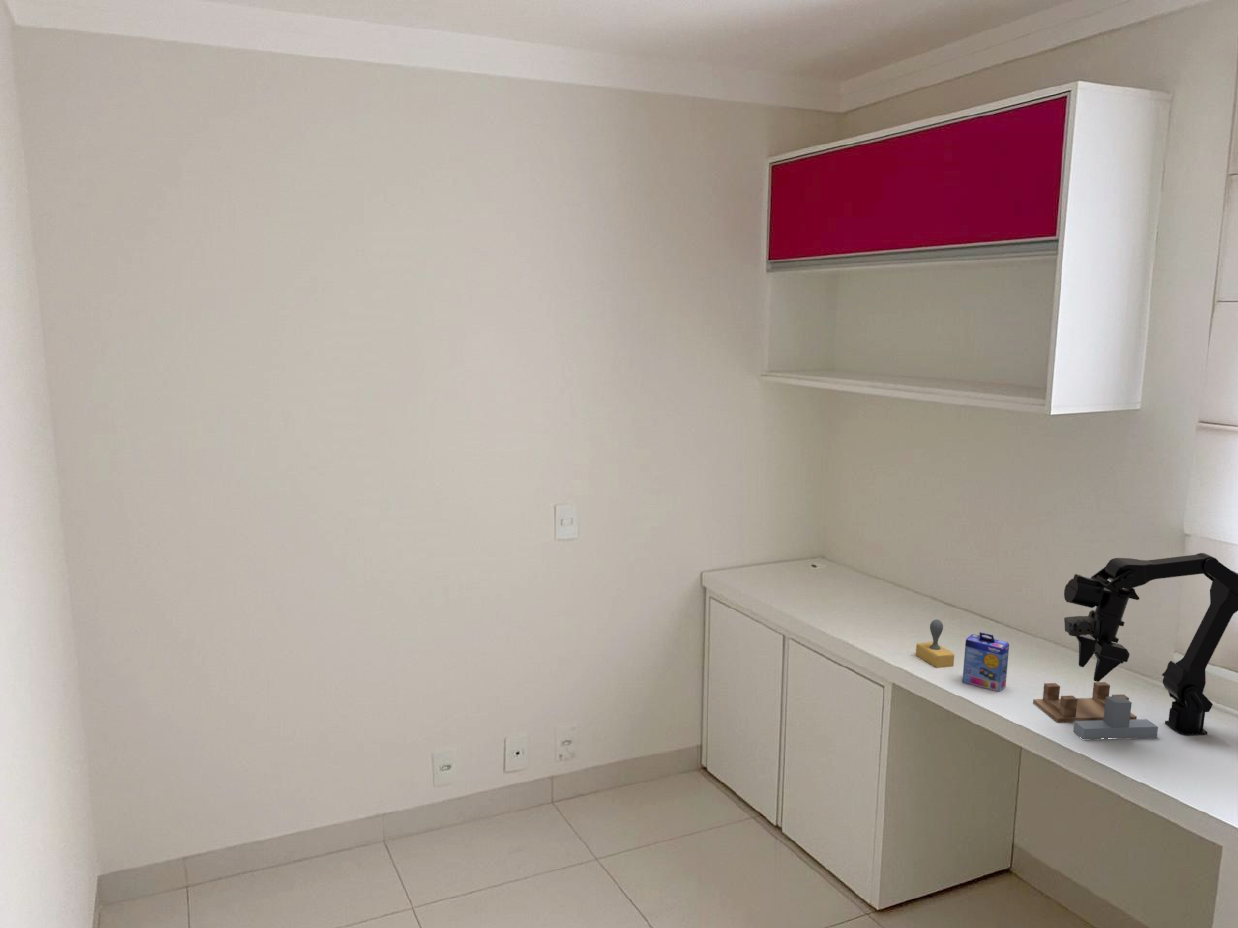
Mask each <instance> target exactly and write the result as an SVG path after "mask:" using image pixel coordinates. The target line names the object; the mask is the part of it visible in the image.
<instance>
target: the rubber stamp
mask: <svg viewBox="0 0 1238 928" xmlns="http://www.w3.org/2000/svg"><path fill="white" fill-rule="evenodd" d="M929 630H930V634H931V636H932V637H931V638H932V641H925V642H917V643H916V645H915V646H916V648H915V655H916V656H917V657H918V658H920V659H921V660H922V661H925V662H927V663H928V664H929V665H932V666H933V667H934V668H936V669H939V668H940V669H941V668H950V667H954V663H955V653H954V652H952V651H951V650H949V649H947V648H945V647H943V646H942V645H940V644H938V643H939V639H940V636H941V634H942V633H943V631H944V624H943V622H942V621H941V620H940V619H933V620H932V621H931V623H930V625H929Z"/></svg>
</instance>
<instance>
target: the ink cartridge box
mask: <svg viewBox="0 0 1238 928" xmlns="http://www.w3.org/2000/svg"><path fill="white" fill-rule="evenodd" d="M978 633H979V635H978V634H975V633H973V634H971V635H969V636H968V637H966V639H965V644H964V645H965V646H964V658H963V670H962V681H961V682H962V683H964V684H969V685H972V686H976V687H979V688H984V689H986V690H990V691H993V692H997V693H998V692H1001V691H1002V690H1003V689H1004V688H1006V686H1007V674H1008V664H1009V663H1008V661H1009V649H1010V643H1009V642H1008V641H1005V640H1001V639H996V638H995V636H994V635H993V634H989V633H985V632H981V631H980V632H978Z"/></svg>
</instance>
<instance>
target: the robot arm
mask: <svg viewBox="0 0 1238 928" xmlns="http://www.w3.org/2000/svg"><path fill="white" fill-rule="evenodd" d="M1073 575H1074V576H1073V578H1071V579H1070V580H1068V582H1067V584H1065V587H1064V591H1063V598H1064V601H1065V602H1066V603H1070V604H1074V605H1078V606H1081V607H1082V606H1083V607H1086V608H1090V609H1091V610H1090V611H1089V612H1088V615H1076V616H1066V617H1064V618H1063V619H1064V621H1063V622H1064V631H1065V632H1066V633H1068V636H1070V637H1075V638H1076V640H1077V642H1078V666H1079V668H1084V667H1086V665H1087V663H1089V661H1090V659H1092V657H1093V655H1094V656H1095V657H1096V662H1095V669H1094V672H1093V681H1094V682H1101V681H1102V679H1104V678H1105V677H1106V676H1107V675H1108V674H1110V672H1111V671H1113V670H1114V669H1115V668H1117V667H1118V666H1119V665H1121V664H1124V663H1128V661H1129V658H1130V656H1131V654H1130V652H1129V651H1128V648H1125V646H1123V645H1122V644H1121V643H1119V640H1120V639H1119V638H1118V637H1117V634H1118V631H1119V628H1120V627H1124V626H1125V621H1123V618H1124V614H1125V611H1126V608H1127V605H1128V602H1129V599H1131V600H1136V601H1138V600H1140V597H1139V596H1138V594H1137V592H1136V589H1135V588H1137V587H1141V586H1144V585H1146V584H1148V583H1149V582H1151V581H1153V580H1160V579H1167V578H1168V579H1169V578H1177V577H1185V576H1194V575H1203V576H1205V577H1206V578H1207V579H1209V580H1210V581H1211V585H1210V589H1209V599H1210V600H1209V601H1210V603H1209V605H1208V608H1207V610H1206V612H1205V614H1204V616H1203V617H1202V620H1201V622H1200V624H1199V626H1198V627H1197V630H1196V632H1195V634H1194V635H1193V638H1192V640H1191V641H1190V643H1189V645H1188V647H1187V649H1186V652H1185V654H1184V655H1183V657H1182V658H1181V659H1180V660H1178V661H1177V662H1174V661H1173V660H1169V662H1168V663H1167V666H1166V669H1165V671H1164V672H1163V673H1162V674H1161V676H1163V679H1162V684H1163V687H1164V689H1165V690H1166V691H1167V692H1168V695H1169V697H1170V698H1172V699H1173V700H1175V701H1173V700H1172V702H1171V707H1169V714H1168V720H1165V721H1164V724H1165V725H1166V726H1169V727H1170V728H1172V729H1173V730H1174V731H1176V732H1177V733H1179V734H1180V735H1183V736H1185V735H1186V736H1188V735H1189V736H1190V735H1193V736H1194V735H1208V733H1209V731H1207V730H1205V729H1204V725H1205V717H1206V713H1209V712H1210V711H1211V710H1212V707H1213V706H1214V705H1213V703H1212V702H1211V701H1210V699H1209V698H1208V697H1207V696H1206V695H1205V694H1204V692H1205V691H1204V690H1205V687H1206V683H1207V682H1206V681H1207V680H1206V679H1207V677H1206V669H1207V667H1208V665H1209V663H1210V661H1211V659H1212V656H1213V655H1214V653H1215V652H1216V649H1217V646H1218V645H1219V643H1220V641H1221V639H1222V637H1223V636H1224V634H1225V631H1226V629H1227V628H1228V625H1229V623H1230V621H1231V620H1232V618H1233V615H1234V614H1236V613H1237V612H1238V572H1236V571H1234V570H1232V569H1230V568H1229V567H1227V566H1225V565H1224V564H1223V563H1221V562H1220V561H1219V560H1218V559H1217V558H1216V557H1213V556H1211V555H1210V554H1207V553H1205V552H1199V553H1196V554H1191V555H1189V554H1188V555H1181V556H1175V557H1174V556H1172V557H1165V558H1164V557H1163V558H1156V559H1147V560H1146V559H1145V560H1144V559H1137V558H1130V557H1129V558H1128V557H1127V558H1126V557H1115V558H1111V559H1110V560H1108V562H1107V563H1106V565H1105V566H1104V567H1103V568H1101V569H1100V570H1099V571H1097V572H1096V573H1095V574H1094V575H1091V577H1086V576H1083V575H1081V574H1077V573H1075V574H1073ZM1093 608H1095V610H1093Z"/></svg>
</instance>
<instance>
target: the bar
mask: <svg viewBox="0 0 1238 928" xmlns="http://www.w3.org/2000/svg"><path fill="white" fill-rule="evenodd" d="M1132 703H1133V702H1131V701H1130V699H1129V700H1127V699H1126V698H1124V697H1123V696H1112V695H1111V696H1110V695H1109V697H1106V701H1105V710H1104V719H1103V720H1096V721H1074V722H1073V729H1072V730H1073V731H1072V733H1073V732H1074V734H1075V735H1076V736H1077V737H1078V738H1080V737H1081V738H1082V739H1101V738H1104V739H1103V740H1109V739H1108V738H1136V739H1157V738H1158V733H1159V732H1158V731H1159V726H1158V725H1156V724H1155V723H1153V722H1152V721H1150V720H1149V719H1148V718H1141V719H1139V718H1138V719H1133V720H1130V713H1132V712H1131V711H1132ZM1081 738H1080V739H1081ZM1082 739H1081V740H1082Z"/></svg>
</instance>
